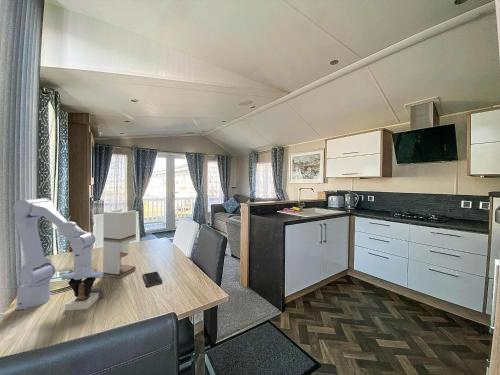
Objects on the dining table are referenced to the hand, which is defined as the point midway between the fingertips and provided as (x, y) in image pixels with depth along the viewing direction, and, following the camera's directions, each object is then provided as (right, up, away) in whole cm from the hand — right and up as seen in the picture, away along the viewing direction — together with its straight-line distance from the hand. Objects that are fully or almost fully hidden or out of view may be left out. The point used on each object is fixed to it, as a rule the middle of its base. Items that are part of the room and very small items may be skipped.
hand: (82, 295), depth 88 cm
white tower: (-4, -4, +32) cm, 32 cm away
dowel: (0, -3, 0) cm, 3 cm away
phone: (+17, -5, +25) cm, 31 cm away
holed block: (0, -4, 0) cm, 4 cm away
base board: (0, -5, -3) cm, 5 cm away
